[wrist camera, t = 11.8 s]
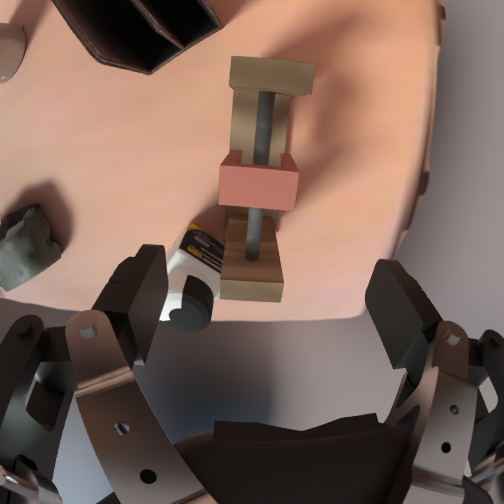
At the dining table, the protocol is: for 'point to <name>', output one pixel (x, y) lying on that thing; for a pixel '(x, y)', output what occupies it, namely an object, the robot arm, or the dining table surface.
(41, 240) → the rock
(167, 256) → the medicine bottle
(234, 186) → the pink u-shaped bracket
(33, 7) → the dining table surface
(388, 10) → the dining table surface
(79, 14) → the letter holder
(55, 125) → the dining table surface
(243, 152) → the rail stand
